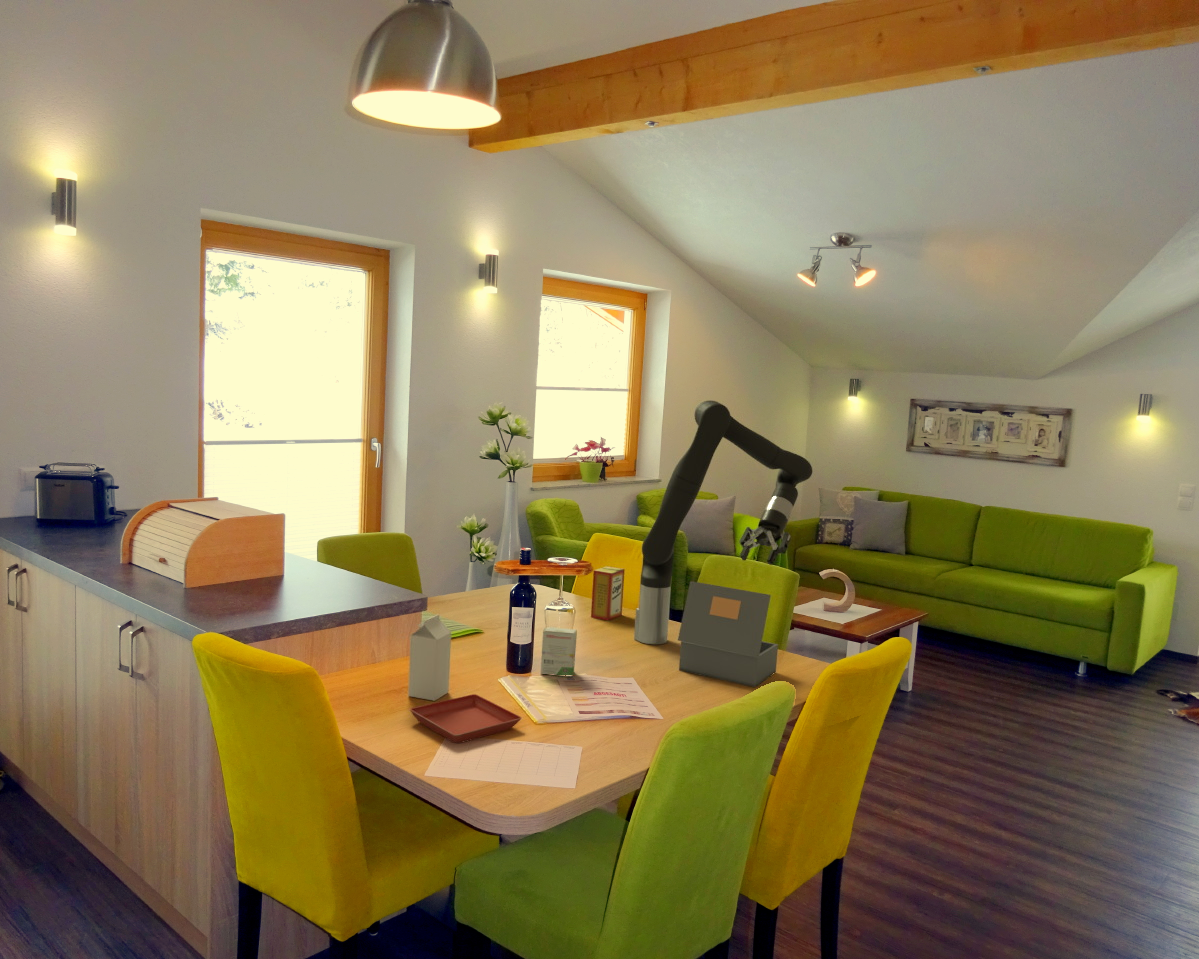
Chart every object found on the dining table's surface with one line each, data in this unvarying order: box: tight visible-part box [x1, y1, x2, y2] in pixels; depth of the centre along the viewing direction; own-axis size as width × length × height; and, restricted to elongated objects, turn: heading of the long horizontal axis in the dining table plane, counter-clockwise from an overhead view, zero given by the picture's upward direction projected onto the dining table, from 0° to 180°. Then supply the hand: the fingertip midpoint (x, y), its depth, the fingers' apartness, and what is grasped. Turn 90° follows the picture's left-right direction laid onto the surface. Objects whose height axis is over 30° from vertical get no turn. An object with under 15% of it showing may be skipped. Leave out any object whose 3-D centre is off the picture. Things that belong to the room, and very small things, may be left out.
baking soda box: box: [590, 565, 625, 621], centre depth 307 cm, size 10×6×16 cm
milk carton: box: [407, 613, 452, 702], centre depth 222 cm, size 7×7×19 cm
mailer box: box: [678, 640, 779, 688], centre depth 255 cm, size 22×16×8 cm
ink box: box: [540, 626, 578, 676], centre depth 244 cm, size 9×5×12 cm, turn 84°
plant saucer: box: [409, 693, 522, 744], centre depth 205 cm, size 18×18×3 cm
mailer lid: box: [677, 580, 771, 657], centre depth 248 cm, size 23×16×1 cm
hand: (755, 561), depth 265 cm, fingers open, 8 cm apart
